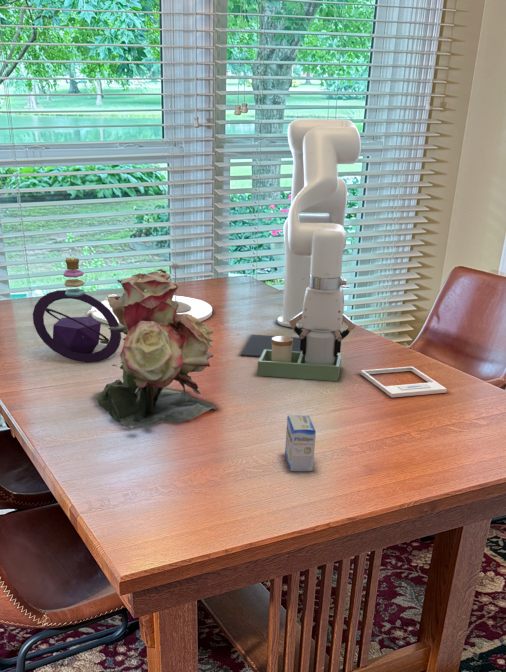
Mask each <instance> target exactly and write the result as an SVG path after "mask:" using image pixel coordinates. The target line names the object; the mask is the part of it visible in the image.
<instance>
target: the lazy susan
mask: <svg viewBox="0 0 506 672" xmlns="http://www.w3.org/2000/svg"><path fill="white" fill-rule="evenodd" d="M107 296H108V297H115V296H118V295H117V294H115V293H114V294H108V295H107ZM107 296H106V297H104V298H103V299H104V300H102V301H100V302H101V303H102V304H103V305H105V306H106V307H107V308H108V309H109V310H110V311H111V313H112V314H113V315H114V313H113V311H112V308H111V306H110V305H109V302H108V299H107ZM172 301H178V302H183V303H185V304H188V305H189V306H191V310H190V311H188V312H184V313H177V314H189V315H192V316H193V317H195V318H197V319H198V321H200V322H203V321H205V320H206V321H207V319H209V318H210V317H211V316H212V315H213V307H212V306H211V304H209V303H208V302H206V301H204V300H201V299H197V298H195V297H194V298H193V297H189V296H188V297H187V296H183V295H176V299H175V294H174V295H173V298H172ZM90 310H91V311H90ZM92 312H93V313H92ZM86 313H87V314H86V315H87V316H88V315H91V317H92V318H94V319H95V318H96V319H95V320H97V321H98V322H100V323H101V324H102V323H103V324H106V325H109V324H108V322H107V320H106V318H105V317H104V316H103V314H102V313H101V312H100V311H98V310H97V309H96V308H95V307H93V306H91V308H90V309H89V310H87V311H86ZM97 317H98V318H97ZM114 317H115V318H116V320H117V322H118V324H119V326H123V325H122V324H121V323H119V321H118V319H117V317H116V316H115V315H114ZM123 327H125V326H123Z"/></svg>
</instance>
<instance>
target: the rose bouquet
mask: <svg viewBox="0 0 506 672" xmlns="http://www.w3.org/2000/svg"><path fill="white" fill-rule="evenodd" d="M170 278H171V274H170V273H167V271H166V270H165V269H163V268H160V269H156V270H155V271H150V272H147V273H140V272H139V273H135V274H133V275H131V277H128V278H124V279H123V278H122V279H116V282H118V283H119V284H120V285H121V288H122V289H123V291H124V293H122V295H121V296H119V295H117V296H115V297H108V295H107V296H106V297H107V299H108V302H109V305H110V306H111V308H112V311H113V313H114V315H115V316H116V317H117V319H118V321H119V323H121V324H122V325H123V326H125V327H123V326H117V327H110V326H109V327H108V330H109V331H110V330H115V331H118V332H121V334H122V333H123V334H124V335H126V336H125V337H124V338H123V339H122V340H123V346H122V347H121V352H120V353H119V357H120V364H121V365H120V367H119V369H120V370H122V376H121V377H122V380H121V379H120V378H118V379H116V380H115V381H112V382H111V383H110V382H109V383H106V385H105V386H104V388H103V390H102V391H100V392H99V393H98V395H96V397H95V399H96V400H97V403H98V406H100V407H101V408H102V409H103V410H105V412H106V413H107V412H108V414H109V416H110V418H112V420H114V421H115V422H117V423H120V424H121V425H122V426H123V427H124V428H126V429H136V428H142V427H143V428H146V430H147V431H149V429H148V428H150V427H151V426H153V425H155V424H157V423H160V422H168V423H175V424H176V423H181V422H185V421H190V420H193V419H195V418H197V417H199V416H200V415H202V414H204V413H206V412H208V411H210V410H212V411H216V410H217V408H216V407H215V405H214V404H212V403H210V402H207V401H206V402H205V401H203V400H201V399H198V398H195V397H193V396H191V395H189V394H188V392H187V391H186V386H187V387H189V388H190V389H192V390H193V392H194V393H195V394H198V395H201V392H200V390H199V386H198V384H197V382H195V381H194V380H193V379H192V376H190V375H189V373H200V372H203V371H204V370H205V368H207V367H211V364H210V361H209V359H210V358H213V357H214V354H212V353H211V352H209V349H211V348H213V347H214V345H212V344H211V342H214V339H213V338H212V337H210V335H213V334H214V331H213V330H212V329H211V328H210V327H209V326H208V325H206V324H205V323H203V321H201V322H200V321H198V319H197V318H195V317H193V316H192V315H189V314H176V310H177V308H178V306H179V304H178V303H177V301H172V298H173V295H175V291H176V292H177V290H178V288H179V283H177V282H176V283H175V281H171V280H170ZM109 341H110V340H109ZM109 341H107V340H99V343H100V344H103V345H107V344H108V343H109ZM111 366H115V367H117V364H112V365H111ZM173 381H176V382H178V384H180V386H181V387H182V389H183V390H182V391H180V390H179V391H178V390H171V389H168V388H167V387H169V386H170V385H171V384H172V383H173ZM185 385H186V386H185Z"/></svg>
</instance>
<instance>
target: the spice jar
mask: <svg viewBox="0 0 506 672" xmlns="http://www.w3.org/2000/svg"><path fill="white" fill-rule="evenodd" d="M274 336H275V337H273V338H272V356H271V361H275V362H290V363H291V360H292V344H293V338H291V337H292V336H287V335H274Z"/></svg>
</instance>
